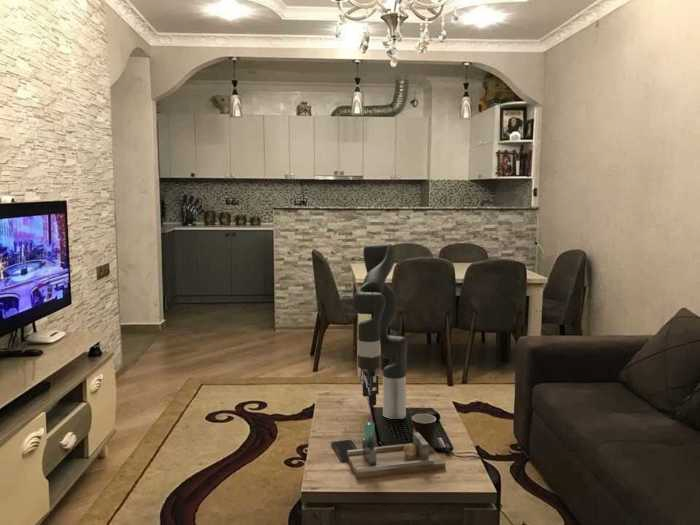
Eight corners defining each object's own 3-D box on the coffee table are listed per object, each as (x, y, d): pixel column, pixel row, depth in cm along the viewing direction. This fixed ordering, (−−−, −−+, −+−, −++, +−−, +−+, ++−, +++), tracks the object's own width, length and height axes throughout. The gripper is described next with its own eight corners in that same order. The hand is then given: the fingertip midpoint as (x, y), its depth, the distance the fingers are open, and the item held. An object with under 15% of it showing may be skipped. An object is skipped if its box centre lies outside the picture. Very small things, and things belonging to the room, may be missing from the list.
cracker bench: (346, 458, 206) (346, 436, 204) (429, 449, 212) (429, 428, 211) (357, 479, 191) (357, 455, 190) (445, 468, 198) (445, 445, 197)
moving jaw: (361, 454, 204) (361, 418, 202) (370, 453, 204) (370, 417, 203) (368, 467, 194) (368, 430, 192) (378, 466, 195) (378, 429, 193)
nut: (401, 454, 204) (402, 441, 204) (414, 452, 205) (414, 440, 205) (406, 459, 200) (406, 447, 199) (418, 458, 201) (418, 446, 200)
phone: (351, 439, 219) (363, 457, 205) (351, 442, 219) (363, 460, 205) (330, 442, 217) (340, 460, 203) (330, 445, 217) (340, 463, 203)
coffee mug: (434, 451, 211) (435, 423, 210) (410, 449, 213) (410, 422, 211) (436, 437, 222) (437, 411, 221) (413, 435, 224) (413, 410, 223)
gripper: (352, 347, 200) (353, 394, 203) (363, 360, 187) (363, 409, 189) (374, 346, 202) (374, 392, 204) (386, 358, 188) (386, 407, 191)
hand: (369, 400), depth 197 cm, fingers open, 8 cm apart
